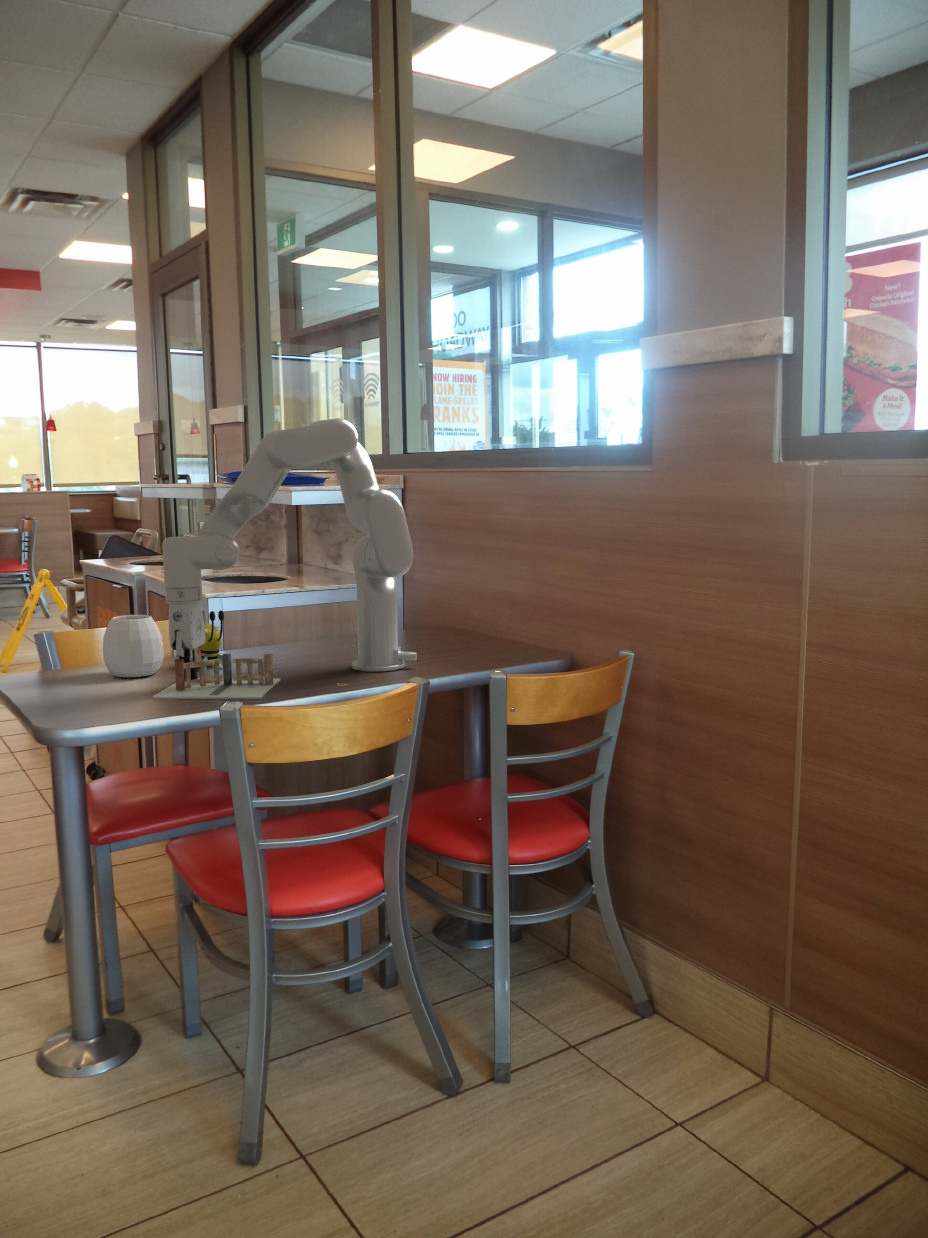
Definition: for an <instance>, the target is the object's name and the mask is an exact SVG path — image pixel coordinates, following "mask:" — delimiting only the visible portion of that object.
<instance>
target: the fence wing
mask: <svg viewBox="0 0 928 1238" xmlns="http://www.w3.org/2000/svg"><path fill="white" fill-rule="evenodd" d="M221 664H222V659H215V660H207V661H202V660H201V661H200V660H199V661H196V662H190V663H184V659H178V658H176V659H174V671H175V672H174V673H175V683H176V690H185V688H191V686H192V685H199V684H200V686H201V687H202V686H206V684H207V683H214V684H216V685H217V684H220V682H222V681H223V675H222V676H221V675H220V665H221ZM210 665H213V666H212V667H213V677H206V671H205V666H206V667H207V666H208V667H211V666H210ZM193 667H197V668H198V670H199V671H198V673H199V676H198V677H199V678H200V679H196V680H191V673H190V668H193ZM184 669H185V679H184Z"/></svg>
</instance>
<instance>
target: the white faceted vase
mask: <svg viewBox="0 0 928 1238" xmlns="http://www.w3.org/2000/svg"><path fill="white" fill-rule="evenodd" d="M162 636H163V635H162V633H161V631H160V629H159V626H158V625H157V623H156V622H155V620H154V618H153V617H152V616H151V615H147V614H127V615H118V616H114V617H111V619H110V620H109V622H108V625H107V626H106V628H105V631H104V634H103V639H102V657H103V658H102V659H103V662H104V664H105V667H106V669H107V670H108V672H109V673H111V675H113V676H115V677H118V678H125V677H136V678H142V677H141V676H143V677H147V676H150V675H154V674H155V673H157V672H158V671H159V670H160V668H161V666H162V664H163V661H164V658H165V657H164V644H163V638H162Z"/></svg>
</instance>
